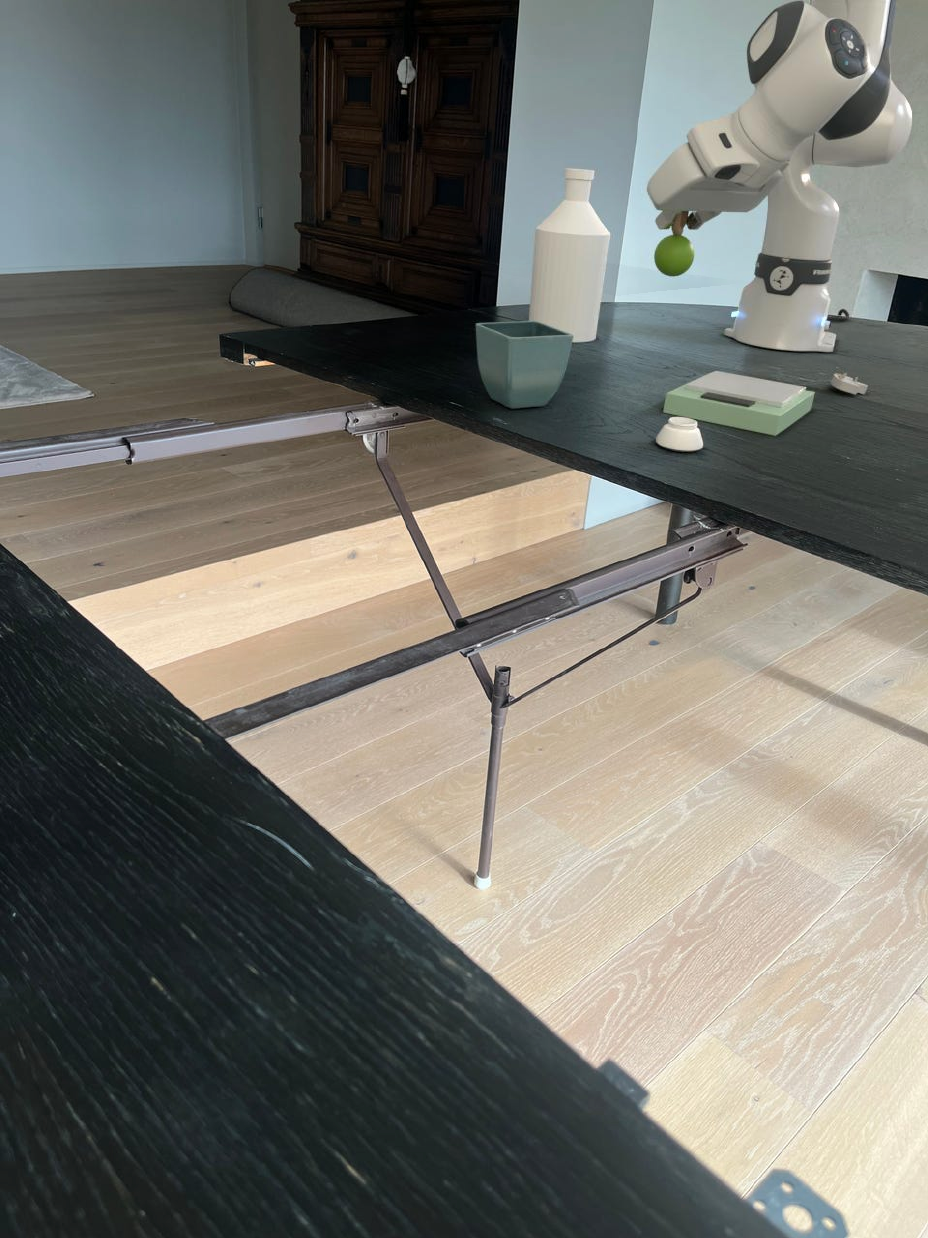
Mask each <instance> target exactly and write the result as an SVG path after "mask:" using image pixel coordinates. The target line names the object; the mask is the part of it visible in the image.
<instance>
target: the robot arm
mask: <svg viewBox="0 0 928 1238" xmlns="http://www.w3.org/2000/svg"><path fill="white" fill-rule="evenodd" d="M897 1H898V0H811V2H810V4H809V3H808V2H805V1H804V0H794V1H790V2H787V3H785V4H782V5H780V6H778V7H776V8H775V9H773V10H772V11H771V12H770V13H769V14H768V15H767V17H766V18H765V19H763V21H762V22H761V24H760V25H759V26H758V27H757V29H756V30H755V31H754V33H753V35H751V38H750V39H749V41H748V43H747V45H746V46H747V47H746V60H747V61H746V62H747V70H748V76H749V81H750V83H751V84H752V85H754V91H753V94H751V96H750V97H749V98H748V99H747V100H746V101H745V102H742V104H740V106H739V107H738V108H737V109H736V110H735V111H734V112H730V113H727V114H725V115H723V116H721V117H719V118H716V119H712V120H709V121H704V122H699V123H697V124H695V125H694V126H692V127H691V129H689V130H688V132H687V134H686V139H687V141H688V142H684V143H683V144H681V145H680V146H678V147H676V149H675V150H673V151H672V152H671V153H670V155H668V157H667V158H666V159H665V160H664V161H663V162H662V163H661V164H660V166H659V167H658V169H656V171H654V173H653V174H652V175H651V177H650V179H649V180H648V182H647V184H646V185H647V186H646V192H647V195H648V198H649V199H650V201H651V203H652V205H653V207H654V208H655V210H657V211H661V212H660V213H659V214H658V215H657V216H656V218H655V220H654V222H655V225H656V227H657V228H658V230H660V231H661V230H670V228H671V226H672V225H673V224H674V223H675V221H674V219H673V218H674V216H675V214H679V213H680V212H681V211H689V212H690V213H689V214H688V219H687V222H686V225H685V226H687V229H688V230H689V231H690V230H693V231H697V230H699V229H700V228H701V227H702V226H703V225H704V224H705V223H707V222H709V221H711V220H713V219H714V218H716V217H718V216H719V215H721V214H722V213H749V212H750V211H752V210H754V209H755V208H757V207H758V206H759V205H760V204H761V203H762V202H763V201H764V200H765V199H766V198H767V213H766V221H765V228H764V234H763V241H762V247H761V252H759V253H758V254H757V257H756V261H755V265H754V266H755V268H754V273H753V274H754V276H755V277H754V278H753V280H752V281H751V282H749V283H748V284H747V285H745V286H744V287H743V288H742V291H741V295H740V298H739V302H738V307H737V310H736V311H731V314H730V315H731V318H734V317H735V319H734V324H733V327H728V328H727V327H726V328H725V329H724V332H723V335H724V336H726V337H730V338H733V339H735V340H736V341H738V342H740V343H743V344H746V345H750V346H755V347H760V348H766V349H772V350H779V351H789V352H790V351H791V352H819V353H820V352H821V353H833V352H834V350H835V349H834V348H835V344H836V339H837V334H836V333H833V332H830V331H826V330H829V329H830V328H831V326H832V323H831V322H844V321H847V320H849V318H850V314H849V312H848V310H846V309H845V308H841V309H840V310H839V311H838V312H837V317H836V316H829V312H830V309H831V308H830V307H831V301H832V299H831V298H830V294H829V291H828V283H829V282H830V277H831V276H830V275H831V273H832V263H833V262H832V259H831V257H832V251H833V247H834V242H835V238H836V233H837V229H838V226H839V221H840V208H839V205H838V203H837V201H836V200H835V199H834V198H833V196H831V195H830V194H828V193H827V192H826V191H824V190H823V189H821V187H818V186H817V185H816V184H814V182H813V181H812V179H811V175H810V174H811V173H810V171H811V166H814V165H821V166H832V167H833V166H835V167H847V168H863V167H872V166H880V165H886V164H889V163H890V162H892V160H894V159H895V158H896V157H897V156H898V155H899V154H900V153H901V152H902V150H903V149H904V147H905V145H906V144H907V142H908V140H909V137H910V136H911V135H910V134H911V131H912V128H913V127H912V126H913V113H912V109H911V108H912V107H911V106H910V104H909V101H908V99H907V98H906V96H905V95H904V94H903V93H902V92H901V91H900V90H899V88H898V87H897V86H896V85H895V83H894V81H893V80H892V66H891V60H890V59H891V58H890V57H891V56H890V55H891V46H892V45H891V44H892V37H893V31H894V30H893V29H894V24H895V23H894V22H895V17H896V8H897ZM843 314H844V316H842V315H843Z"/></svg>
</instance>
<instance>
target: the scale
mask: <svg viewBox="0 0 928 1238" xmlns="http://www.w3.org/2000/svg"><path fill="white" fill-rule="evenodd" d="M806 389H807V387H806V386H803V385H798V384H797V385H796V384H790V383H785V382H781V381H780V382H779V381H775V380H768V379H765V378H757V377H752V376H747V375H742V374H736V373H730V372H726V371H720V370H714V371H713V372H709V373H707V374H704V375H702V376H700V377H698V378H695V379H694V380H692V381H690V382H687V383H686V384H683V385H681V386H679V387H677V388H674V389H672V390H670V391H668V392H666V393H665V400H664V404H663V411H662V413H664V414H669V415H673V416H677V417H684V418H689V419H693V420H696V421H697V420H698V421H702V422H707V423H712V424H717V425H721V426H725V427H730V428H736V429H740V430H746V431H751V432H755V433H760V434H764V435H769V436H774V437H776V436H777V435H779V434H781V432H783V431H784V430H787V428H789V427H790V426H791V425H792V424H794V423H795V422H797V421H798V420H800V419H801V418H802V417H804V416H805V415H806V414H808V413H809V412H810V411H812V406H813V401H814V397H815V394H816V392H815V391H813V390H806Z"/></svg>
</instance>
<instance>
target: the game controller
mask: <svg viewBox="0 0 928 1238" xmlns="http://www.w3.org/2000/svg"><path fill="white" fill-rule="evenodd" d="M858 380H859V377H858V376H855V378H853V377H851V376H848V374H847V372H843V374H842V373H838V372H837V373H833V376H832V378H831V380H830V383H826V384H829V385H832V386H833V387H834V388H835V389H838V390H840V391H843V392H845V393H849V394H852V395H857V394H861V395H865V394H866V392H867V389H868V387H869V385H868V384H865V383H862V382H859V381H858ZM812 381H813V379H812V380H810V382H812ZM820 381H821V382H823V380H822V379H820ZM790 382H791V383H793V381H792V380H790ZM781 383H784V380H783V381H781ZM808 384H809V382H806V385H808ZM795 385H797V386H798V384H797V383H795ZM803 385H805V384H802V386H803Z"/></svg>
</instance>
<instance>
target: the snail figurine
mask: <svg viewBox="0 0 928 1238" xmlns="http://www.w3.org/2000/svg"><path fill="white" fill-rule="evenodd" d="M689 215H690V211H681V212H680V213H679V214H675V216H674V218H673V219H674V221H675V223H674V224H673V225H672V226H670V228H671V232H672V234H670V235H667V236H666V237H663V238H662V239H661V240H660V241H659V243H657V246H656V247H655V249H654V255H653V260H654V264H655V267H656V269H657V270H658V271H659V272H660V273H661V274H663V275H664V276H667V277H678V276H681V275H684V274H685V273H686V272H687V271H689V269H690V268H691V267H692V265H693V263H694V259H695V249H694V245H693V243H692V241H690V239H689V238H687V237H686V236H684V235H682V234H683V233H684V228H685V227H686V226H687V225H686V222H687V219H688V216H689Z"/></svg>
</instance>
